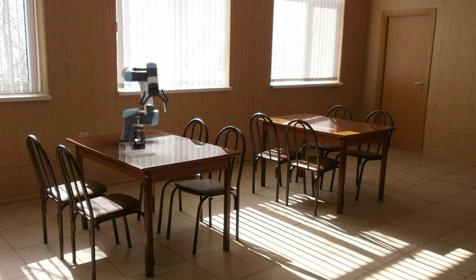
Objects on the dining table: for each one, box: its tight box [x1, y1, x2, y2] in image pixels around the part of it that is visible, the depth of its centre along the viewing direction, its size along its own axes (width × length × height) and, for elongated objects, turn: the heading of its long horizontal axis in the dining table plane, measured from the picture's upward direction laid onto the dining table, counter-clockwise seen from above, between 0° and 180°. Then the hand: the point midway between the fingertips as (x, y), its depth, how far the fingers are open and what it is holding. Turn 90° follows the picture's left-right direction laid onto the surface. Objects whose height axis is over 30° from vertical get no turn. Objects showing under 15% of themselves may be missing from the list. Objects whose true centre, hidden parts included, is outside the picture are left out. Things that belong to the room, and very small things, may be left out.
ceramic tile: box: [123, 148, 156, 158], centre depth 306 cm, size 14×16×2 cm
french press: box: [129, 116, 147, 150], centre depth 317 cm, size 12×9×23 cm
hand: (155, 113), depth 323 cm, fingers open, 13 cm apart
